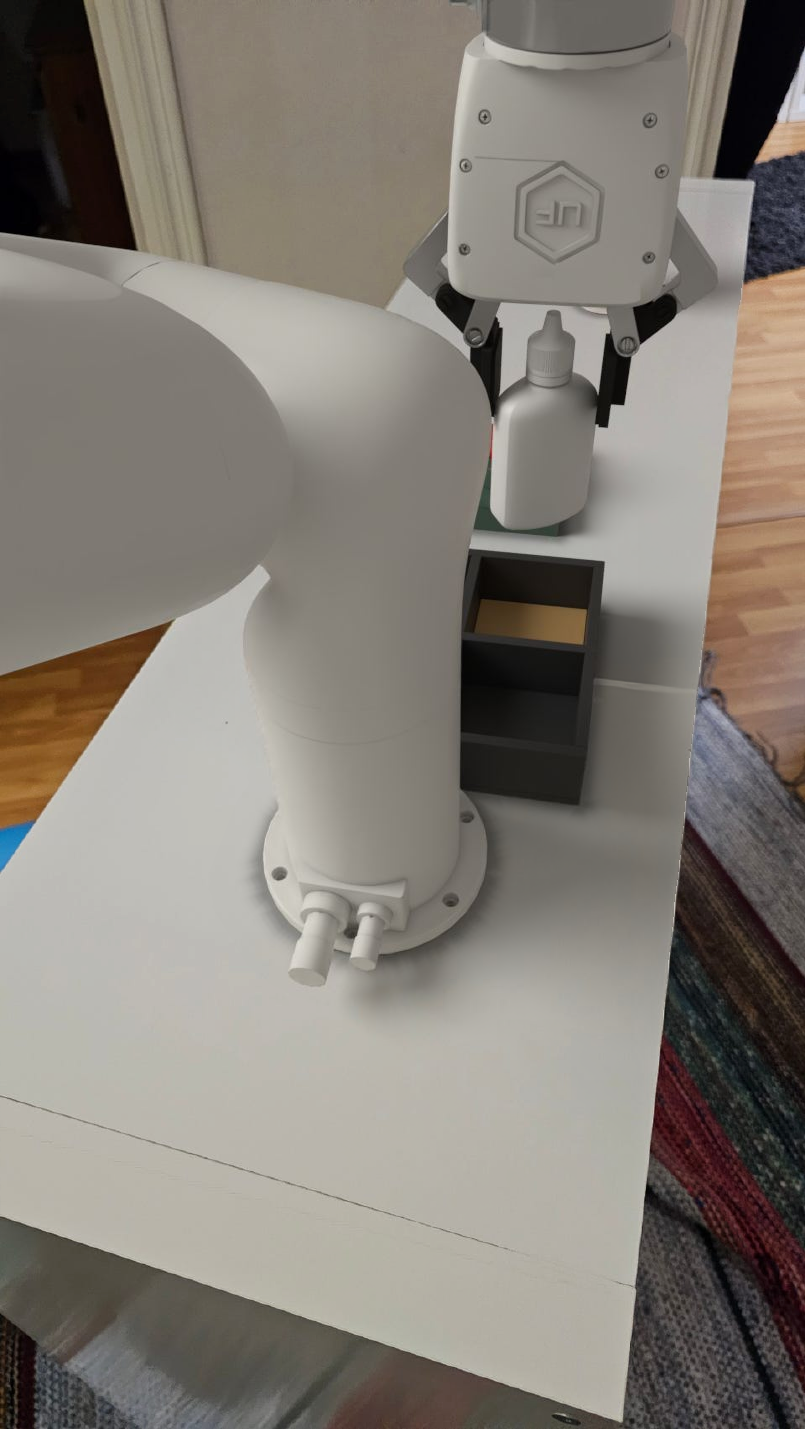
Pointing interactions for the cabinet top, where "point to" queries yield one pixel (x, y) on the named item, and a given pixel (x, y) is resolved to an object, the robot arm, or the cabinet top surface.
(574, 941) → the cabinet top surface
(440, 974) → the cabinet top surface
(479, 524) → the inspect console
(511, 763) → the tray
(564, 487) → the eye dropper bottle
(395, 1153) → the cabinet top surface
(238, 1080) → the cabinet top surface
